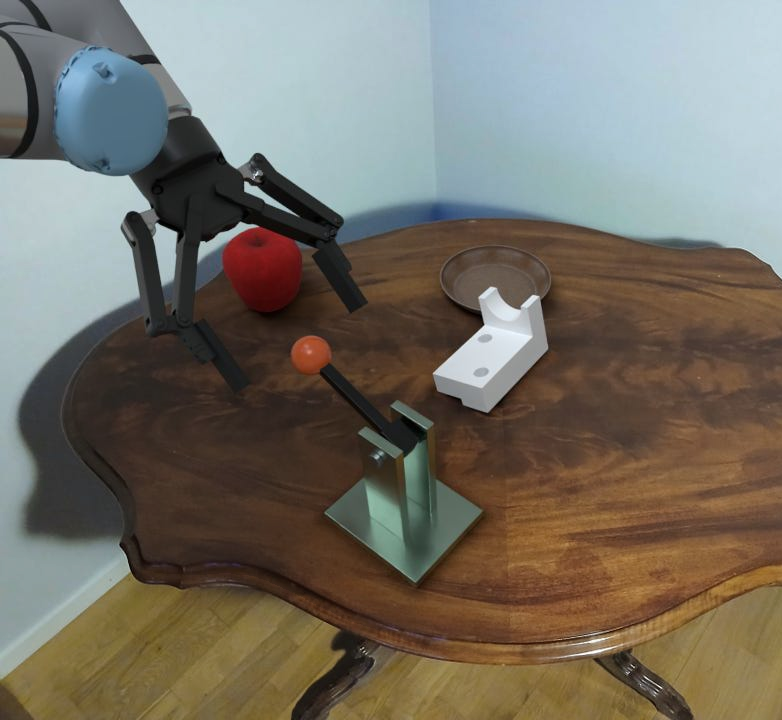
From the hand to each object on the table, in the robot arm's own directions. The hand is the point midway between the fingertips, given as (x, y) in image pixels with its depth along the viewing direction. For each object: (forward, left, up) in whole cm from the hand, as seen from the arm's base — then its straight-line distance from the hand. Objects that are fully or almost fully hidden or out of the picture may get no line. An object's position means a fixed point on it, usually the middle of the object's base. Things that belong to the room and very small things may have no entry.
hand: (305, 346), depth 65 cm
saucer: (+25, +24, -17) cm, 39 cm away
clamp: (+6, -8, -17) cm, 20 cm away
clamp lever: (+3, -4, -5) cm, 7 cm away
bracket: (+20, +10, -17) cm, 28 cm away
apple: (-4, +29, -17) cm, 34 cm away
